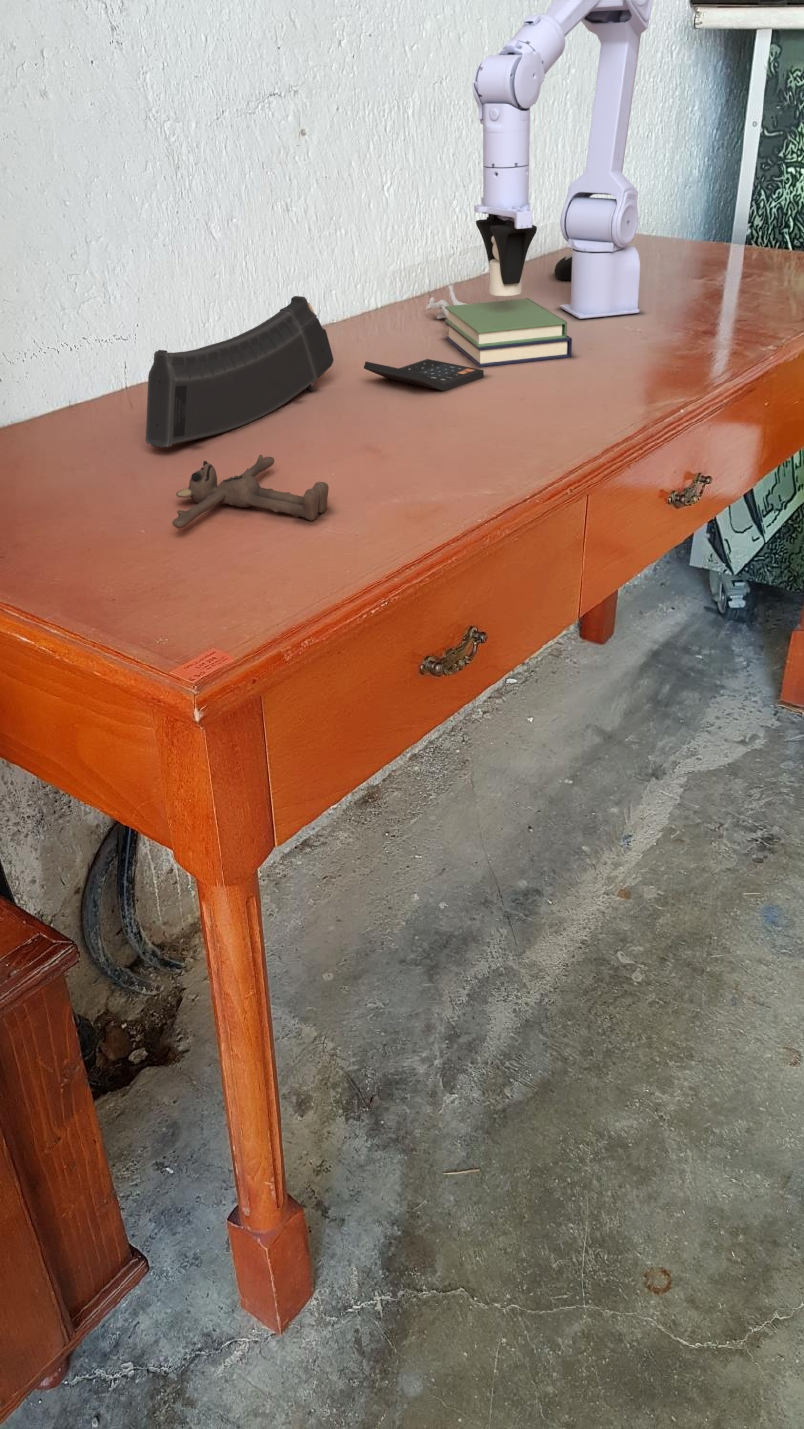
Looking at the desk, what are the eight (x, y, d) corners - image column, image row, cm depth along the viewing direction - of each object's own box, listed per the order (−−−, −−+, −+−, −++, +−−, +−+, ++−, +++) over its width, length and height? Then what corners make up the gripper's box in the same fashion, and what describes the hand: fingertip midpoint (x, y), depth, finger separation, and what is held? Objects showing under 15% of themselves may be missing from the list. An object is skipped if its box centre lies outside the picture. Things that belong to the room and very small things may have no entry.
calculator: (483, 377, 142) (483, 352, 141) (420, 399, 135) (420, 374, 134) (427, 365, 148) (426, 341, 146) (364, 386, 141) (363, 362, 139)
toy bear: (490, 289, 152) (490, 231, 148) (521, 289, 152) (522, 230, 148) (488, 296, 149) (488, 237, 145) (521, 296, 148) (522, 236, 144)
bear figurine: (274, 522, 97) (128, 488, 101) (275, 567, 99) (132, 533, 103) (361, 453, 111) (229, 426, 115) (360, 494, 113) (231, 467, 117)
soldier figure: (458, 321, 172) (512, 306, 162) (446, 349, 171) (500, 335, 161) (422, 289, 167) (476, 271, 158) (410, 317, 166) (462, 301, 157)
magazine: (140, 379, 114) (304, 237, 130) (116, 376, 116) (281, 236, 131) (195, 517, 126) (339, 372, 142) (173, 512, 128) (317, 369, 143)
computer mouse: (630, 279, 187) (632, 253, 185) (557, 282, 188) (557, 256, 186) (623, 270, 194) (624, 245, 192) (552, 273, 194) (553, 248, 192)
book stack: (531, 330, 161) (531, 297, 159) (571, 357, 148) (572, 322, 146) (445, 339, 159) (444, 306, 157) (478, 367, 146) (478, 332, 144)
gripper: (458, 161, 148) (460, 272, 155) (493, 174, 136) (493, 293, 143) (510, 158, 149) (509, 268, 156) (549, 169, 137) (546, 288, 144)
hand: (505, 280), depth 149 cm, fingers closed on toy bear, 4 cm apart
